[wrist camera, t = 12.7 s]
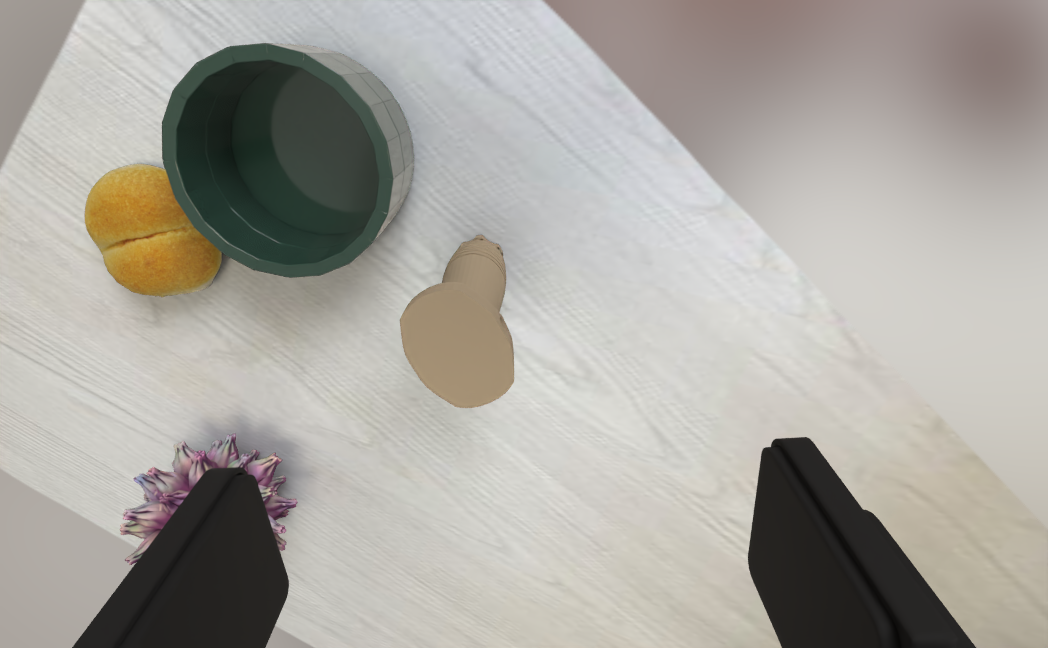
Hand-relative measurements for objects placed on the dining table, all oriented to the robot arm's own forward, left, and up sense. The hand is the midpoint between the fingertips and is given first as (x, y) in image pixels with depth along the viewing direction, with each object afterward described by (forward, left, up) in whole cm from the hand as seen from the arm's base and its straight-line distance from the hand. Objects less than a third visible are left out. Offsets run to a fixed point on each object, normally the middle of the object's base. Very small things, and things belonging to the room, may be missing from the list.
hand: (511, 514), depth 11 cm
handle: (+5, -3, -32) cm, 32 cm away
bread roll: (+1, -25, -32) cm, 41 cm away
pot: (-3, -13, -32) cm, 35 cm away
